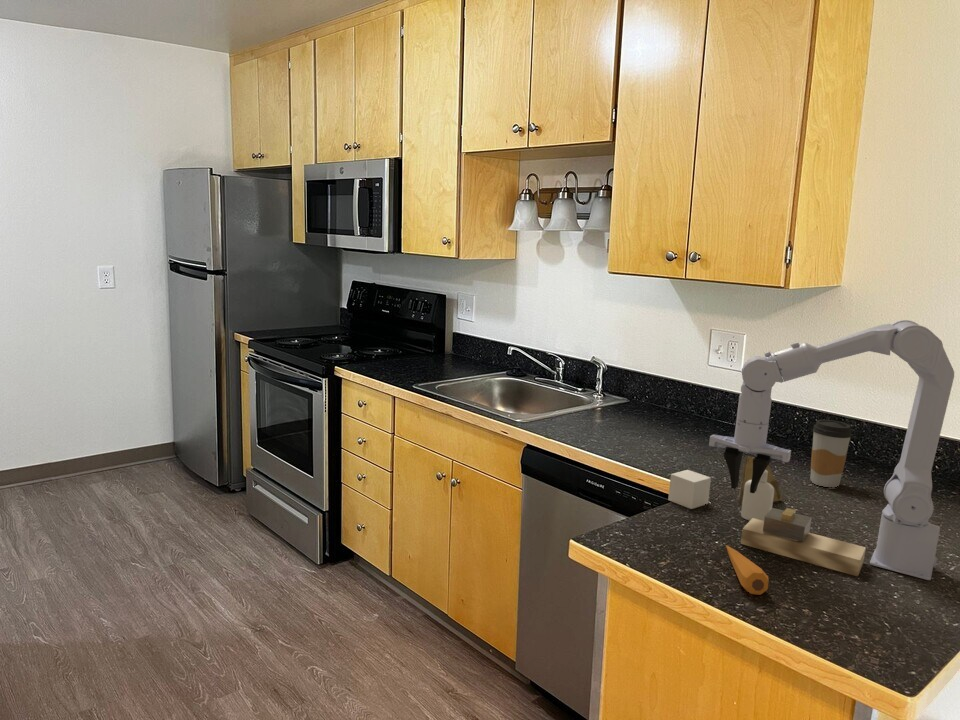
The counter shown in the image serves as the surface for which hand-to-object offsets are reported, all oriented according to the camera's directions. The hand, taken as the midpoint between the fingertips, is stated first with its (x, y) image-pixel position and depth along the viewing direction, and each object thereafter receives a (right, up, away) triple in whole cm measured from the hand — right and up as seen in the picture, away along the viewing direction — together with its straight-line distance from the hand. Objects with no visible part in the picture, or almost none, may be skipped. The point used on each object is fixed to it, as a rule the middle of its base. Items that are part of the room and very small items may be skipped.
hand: (743, 489), depth 141 cm
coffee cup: (+32, -5, +36) cm, 49 cm away
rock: (+11, -7, +21) cm, 25 cm away
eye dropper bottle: (+6, -8, +10) cm, 15 cm away
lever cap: (+7, -7, -4) cm, 10 cm away
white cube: (-5, -6, +19) cm, 20 cm away
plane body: (+9, -11, -5) cm, 15 cm away
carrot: (-5, -12, -13) cm, 18 cm away
